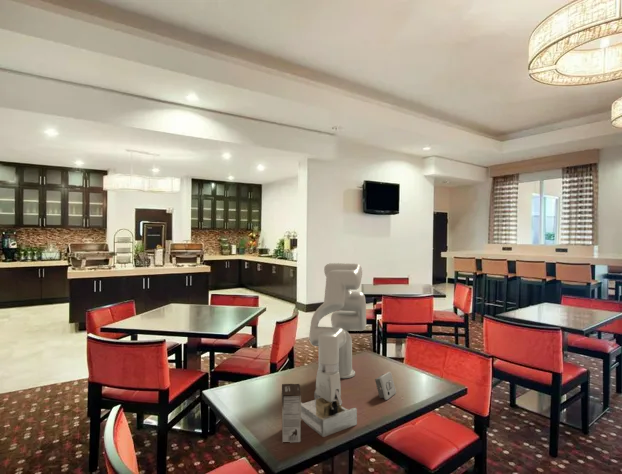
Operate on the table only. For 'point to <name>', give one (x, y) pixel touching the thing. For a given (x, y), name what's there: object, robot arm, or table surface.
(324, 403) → the tan cardboard box
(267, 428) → the table surface
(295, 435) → the coffee box
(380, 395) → the electrical switch
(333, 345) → the robot arm
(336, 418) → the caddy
